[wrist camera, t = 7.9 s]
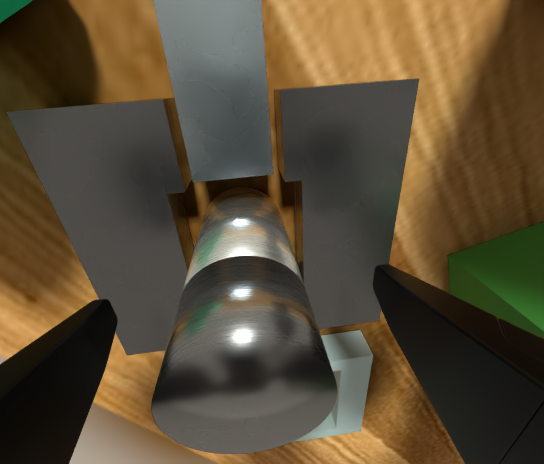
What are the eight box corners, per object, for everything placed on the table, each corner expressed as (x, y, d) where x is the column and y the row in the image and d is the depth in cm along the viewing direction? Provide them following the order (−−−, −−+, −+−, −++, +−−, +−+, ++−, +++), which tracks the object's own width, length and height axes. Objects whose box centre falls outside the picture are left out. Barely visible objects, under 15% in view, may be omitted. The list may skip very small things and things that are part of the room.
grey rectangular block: (247, -95, 8) (249, -158, 6) (267, 159, 12) (273, 174, 10) (151, -91, 8) (119, -156, 6) (201, 165, 12) (193, 182, 10)
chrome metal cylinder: (279, 183, 13) (342, 330, 5) (283, 252, 15) (333, 439, 7) (195, 192, 13) (124, 360, 5) (210, 261, 15) (177, 464, 7)
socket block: (391, 80, 11) (419, 78, 10) (364, 296, 17) (378, 320, 15) (45, 108, 10) (6, 111, 9) (139, 326, 16) (127, 355, 14)
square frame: (360, 330, 18) (373, 355, 17) (351, 404, 23) (360, 431, 21) (199, 352, 18) (195, 381, 16) (221, 424, 22) (219, 454, 20)
